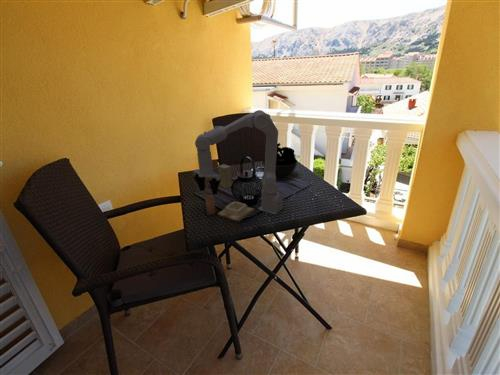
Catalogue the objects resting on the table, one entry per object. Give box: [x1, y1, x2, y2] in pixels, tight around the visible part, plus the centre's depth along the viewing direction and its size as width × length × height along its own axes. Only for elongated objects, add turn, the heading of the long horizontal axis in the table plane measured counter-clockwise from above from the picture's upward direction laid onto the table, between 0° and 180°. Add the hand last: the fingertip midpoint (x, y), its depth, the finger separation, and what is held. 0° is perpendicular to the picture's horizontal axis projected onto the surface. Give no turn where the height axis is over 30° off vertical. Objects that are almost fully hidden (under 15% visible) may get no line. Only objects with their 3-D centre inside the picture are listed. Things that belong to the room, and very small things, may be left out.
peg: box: [204, 194, 217, 216], centre depth 120 cm, size 4×4×8 cm
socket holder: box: [217, 201, 255, 222], centre depth 120 cm, size 12×12×3 cm
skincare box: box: [217, 163, 233, 189], centre depth 147 cm, size 6×4×12 cm
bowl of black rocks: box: [262, 142, 298, 178], centre depth 155 cm, size 20×20×19 cm
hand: (208, 192), depth 117 cm, fingers open, 7 cm apart
